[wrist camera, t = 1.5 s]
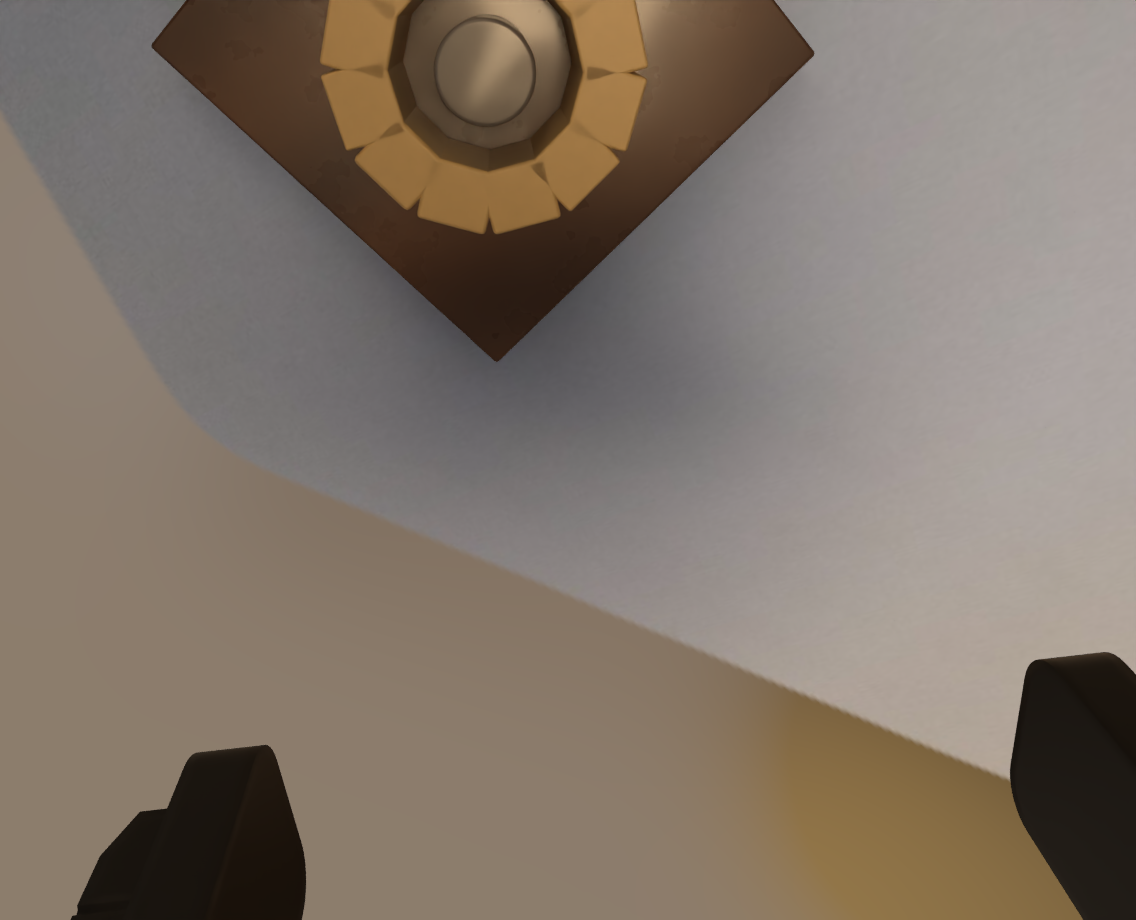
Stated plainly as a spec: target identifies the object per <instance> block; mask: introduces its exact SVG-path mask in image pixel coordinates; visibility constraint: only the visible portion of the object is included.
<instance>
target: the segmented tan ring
mask: <svg viewBox="0 0 1136 920" xmlns="http://www.w3.org/2000/svg"><path fill="white" fill-rule="evenodd" d="M423 1H424V0H329V4H328V11H327V17H326V23H325V30H324V36H323V42H322V49H321V55H320V63H321V64H322V65H324V66H328V67H331V68H335V70H332V71H330V72H328V73H325V74H323V75H322V76H321V79H322V82H323V85H324V88H325V91H326V94H327V97H328V100H329V103H330V105H331V108H332V111H333V114H334V117H335V120H336V123H337V126H338V129H339V131H340V134H341V137H342V140H343V143H344V146H345V149H346V150H348V151H350V150H353V149H357V148H360V147H364V146H365V147H364V148H363V149H362V150H361V151H360V152H359V153H358V155H357V156H356V157H355V162H356V164H357V165H358V166H359V167H360V168H361V169H362V170H363V171H365V172H366V173H367V174H368V175H369V176H370V177H371V178H372V179H373V180H374V181H375V182H376V183H377V184H378V185H379V186H380V187H381V188H382V189H384V190H385V191H386V192H387V193H388V194H389V195H390V196H391V197H392V198H393V199H394V200H395V201H396V202H397V203H398V204H399V205H400V206H401V207H402V208H404V209H406V210H409V209H411V208H412V207H413V206H414V205H415V203H416V202H417V201H418V200H419V199H420V201H419V206H418V211H417V215H418V217H419V218H421V219H425V220H429V221H433V222H436V223H440V224H444V225H448V226H452V227H455V228H459V229H463V230H467V231H470V232H474V233H478V234H484V233H485V232H486V228H487V224H488V220H489V218H490V222H491V225H492V229H493V232H494V233H495V234H501V233H505V232H509V231H513V230H516V229H520V228H524V227H527V226H531V225H535V224H538V223H542V222H546V221H550V220H553V219H557V218H559V217H560V214H561V213H560V209H559V205H558V201H559V202H560V203H561V204H562V205H563V206H564V207H565V208H566V209H567V210H568V211H572V210H573V209H574V208H575V207H576V206H577V205H578V204H579V203H580V202H581V201H582V200H583V199H584V198H585V197H586V196H587V195H588V194H589V193H590V192H591V191H592V190H593V189H594V188H595V187H596V186H597V185H598V184H599V183H600V182H601V181H602V180H603V179H604V178H605V177H606V176H607V175H608V174H609V173H610V172H611V171H612V170H613V169H614V168H615V167H616V166H617V165H618V164H619V162H620V161H619V158H618V157H617V156H616V154H615V153H614V152H613V150H612V149H616V150H619V151H623V152H624V151H626V150H627V149H628V145H629V142H630V138H631V135H632V132H633V128H634V125H635V121H636V118H637V115H638V111H639V108H640V104H641V101H642V98H643V94H644V91H645V88H646V84H647V79H646V78H645V77H643V76H641V75H640V74H638V73H636V72H634V71H638V70H641V69H645V68H646V67H648V61H647V56H646V51H645V46H644V41H643V36H642V31H641V26H640V21H639V16H638V11H637V6H636V1H635V0H547V1H548V2H549V3H550V4H551V5H552V6H553V8H554V9H555V10H556V11H557V12H558V13H559V14H560V15H561V18H562V22H563V27H564V31H565V35H566V39H567V44H568V48H569V52H570V57H571V61H572V64H571V68H570V72H569V76H568V79H567V83H566V87H565V91H564V95H563V99H562V102H561V106H560V108H559V109H558V110H557V111H556V112H555V113H554V114H553V115H552V116H551V117H550V118H549V119H548V120H547V121H546V122H545V124H544V125H543V126H542V127H541V128H540V129H539V130H538V131H537V132H536V133H535V134H534V135H533V136H532V137H531V138H530V139H527V140H523V141H519V142H516V143H512V144H509V145H505V146H501V147H498V148H494V149H490V150H489V149H485V148H482V147H478V146H475V145H471V144H468V143H464V142H461V141H457V140H453V139H450V138H448V137H447V136H446V135H445V134H444V133H443V132H442V131H441V130H440V129H439V128H438V127H437V126H436V125H435V124H434V123H433V122H432V121H431V120H430V119H429V118H428V117H427V116H426V115H425V114H424V113H423V112H422V111H421V110H420V109H419V108H418V107H417V105H416V102H415V99H414V95H413V92H412V89H411V85H410V82H409V79H408V76H407V72H406V69H405V66H404V63H403V58H404V52H405V47H406V42H407V37H408V32H409V26H410V21H411V16H412V13H413V12H414V11H415V10H416V9H417V8H418V7H419V5H420V4H421V3H422V2H423ZM611 148H612V149H611ZM557 200H558V201H557Z"/></svg>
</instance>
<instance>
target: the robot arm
mask: <svg viewBox="0 0 1136 920" xmlns="http://www.w3.org/2000/svg"><path fill="white" fill-rule="evenodd" d="M1010 780H1011V788H1012V793H1013V798H1014V802H1015V805H1016V808H1017V811H1018V813H1019V816H1020V818H1021V820H1022V822H1023V825H1024V826H1025V828H1026V830H1027V832H1028V833H1029V835H1030V836H1031V838H1032V840H1033V841H1034V843H1035V844H1036V846H1037V847H1038V849H1039V850H1040V852H1041V854H1042V855H1043V857H1044V858H1045V860H1046V862H1047V863H1048V865H1049V866H1050V868H1051V869H1052V871H1053V873H1054V874H1055V876H1056V877H1057V879H1058V880H1059V882H1060V884H1061V885H1062V887H1063V888H1064V890H1065V892H1066V893H1067V895H1068V896H1069V898H1070V899H1071V901H1072V903H1073V904H1074V906H1075V907H1076V909H1077V910H1078V912H1079V913H1080V915H1081V917H1082V918H1083V920H1136V674H1135V673H1134V672H1133V671H1132V670H1131V669H1130V668H1129V667H1128V666H1127V665H1126V664H1125V663H1124V662H1123V661H1122V660H1121V659H1120V658H1119V657H1117V656H1116V655H1114V654H1111V653H1108V652H1101V653H1092V654H1083V655H1075V656H1066V657H1057V658H1048V659H1039V660H1035V661H1033V662H1032V663H1031V664H1030V665H1029V667H1028V669H1027V671H1026V675H1025V679H1024V685H1023V691H1022V698H1021V704H1020V710H1019V716H1018V722H1017V728H1016V734H1015V741H1014V747H1013V753H1012V759H1011V766H1010ZM305 869H306V868H305V859H304V852H303V847H302V844H301V840H300V837H299V833H298V830H297V827H296V823H295V820H294V817H293V813H292V809H291V806H290V803H289V800H288V796H287V793H286V790H285V786H284V783H283V779H282V776H281V772H280V769H279V766H278V762H277V759H276V757H275V754H274V752H273V750H272V749H271V748H270V747H269V746H268V745H261V746H252V747H243V748H234V749H225V750H216V751H208V752H200V753H195V754H193V755H192V756H191V757H190V758H189V759H188V761H187V762H186V764H185V766H184V769H183V771H182V773H181V776H180V778H179V781H178V784H177V786H176V788H175V791H174V793H173V796H172V798H171V801H170V803H169V806H168V808H167V809H160V810H151V811H142V812H139V814H138V815H137V816H136V817H135V818H134V819H133V820H132V821H131V822H130V824H129V825H128V826H127V827H126V828H125V829H124V830H123V831H122V833H121V834H120V835H119V836H118V837H117V838H116V839H115V840H114V841H113V842H112V843H111V845H110V846H109V847H108V848H107V849H106V850H105V851H104V852H103V853H102V855H101V856H100V857H99V860H98V862H97V864H96V866H95V868H94V870H93V873H92V875H91V877H90V879H89V881H88V884H87V886H86V888H85V890H84V892H83V894H82V896H81V899H80V901H79V903H78V905H77V907H78V912H77V915H75V916H72V918H71V920H302V915H303V910H304V903H305V893H306V870H305Z"/></svg>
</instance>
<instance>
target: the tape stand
mask: <svg viewBox="0 0 1136 920" xmlns="http://www.w3.org/2000/svg"><path fill="white" fill-rule="evenodd" d="M635 1H636V6H637V11H638V16H639V21H640V26H641V31H642V36H643V41H644V46H645V51H646V56H647V61H648V67H646V68H645V69H641V70H638V71H634V72H636V73H638V74H640V75H641V76H643V77H645V78H646V79H647V84H646V88H645V91H644V94H643V98H642V101H641V104H640V108H639V111H638V115H637V118H636V121H635V125H634V128H633V132H632V135H631V138H630V142H629V145H628V149H627V150H626V151H624V152H623V151H619V150H616V149H612V148H611V149H612V150H613V152H614V153H615V154H616V156H617V157H618V158H619V161H620V162H619V164H618V165H617V166H616V167H615V168H614V169H613V170H612V171H611V172H610V173H609V174H608V175H607V176H606V177H605V178H604V179H603V180H602V181H601V182H600V183H599V184H598V185H597V186H596V187H595V188H594V189H593V190H592V191H591V192H590V193H589V194H588V195H587V196H586V197H585V198H584V199H583V200H582V201H581V202H580V203H579V204H578V205H577V206H576V207H575V208H574V209H573V210H572V211H568V210H567V209H566V208H565V207H564V206H563V205H562V204H561V203H560V202H559V201H558V200H557V201H558V205H559V209H560V213H561V214H560V217H559V218H557V219H553V220H550V221H546V222H542V223H538V224H535V225H531V226H527V227H524V228H520V229H516V230H513V231H509V232H505V233H501V234H495V233H494V232H493V229H492V225H491V222H490V218H489V220H488V224H487V228H486V232H485V233H484V234H478V233H474V232H470V231H467V230H463V229H459V228H455V227H452V226H448V225H444V224H440V223H436V222H433V221H429V220H425V219H421V218H419V217H418V215H417V211H418V206H419V201H420V199H419V200H418V201H417V202H416V203H415V205H414V206H413V207H412V208H411V209H409V210H406V209H404V208H402V207H401V206H400V205H399V204H398V203H397V202H396V201H395V200H394V199H393V198H392V197H391V196H390V195H389V194H388V193H387V192H386V191H385V190H384V189H382V188H381V187H380V186H379V185H378V184H377V183H376V182H375V181H374V180H373V179H372V178H371V177H370V176H369V175H368V174H367V173H366V172H365V171H363V170H362V169H361V168H360V167H359V166H358V165H357V164H356V162H355V157H356V156H357V155H358V153H359V152H360V151H361V150H362V149H363V148H364V147H365V146H364V147H360V148H357V149H353V150H350V151H348V150H346V149H345V146H344V143H343V140H342V137H341V134H340V131H339V129H338V126H337V123H336V120H335V117H334V114H333V111H332V108H331V105H330V103H329V100H328V97H327V94H326V91H325V88H324V85H323V82H322V79H321V76H322V75H323V74H325V73H328V72H330V71H332V70H335V68H331V67H328V66H324V65H322V64H321V63H320V55H321V49H322V42H323V36H324V30H325V23H326V17H327V11H328V4H329V0H186V1H185V2H184V4H183V5H182V6H181V7H180V9H179V10H178V11H177V13H176V14H175V15H174V16H173V18H172V19H171V20H170V22H169V23H168V24H167V25H166V27H165V28H164V29H163V30H162V32H161V33H160V34H159V36H158V37H157V38H156V39H155V41H154V42H153V43H152V48H153V49H154V50H155V51H156V52H157V53H158V54H159V55H160V56H161V57H162V58H164V59H165V60H166V61H167V62H168V63H169V64H170V65H171V66H172V67H173V68H175V69H176V70H177V71H178V72H179V73H180V74H181V75H182V76H183V77H184V78H185V79H187V80H188V81H189V82H190V83H191V84H192V85H193V86H194V87H195V88H196V89H198V90H199V91H200V92H201V93H202V94H203V95H204V96H205V97H206V98H207V99H208V100H210V101H211V102H212V103H213V104H214V105H215V106H216V107H217V108H218V109H219V110H220V111H222V112H223V113H224V114H225V115H226V116H227V117H228V118H229V119H230V120H231V121H233V122H234V123H235V124H236V125H237V126H238V127H239V128H240V129H241V130H242V131H243V132H245V133H246V134H247V135H248V136H249V137H250V138H251V139H252V140H253V141H254V142H255V143H257V144H258V145H259V146H260V147H261V148H262V149H263V150H264V151H265V152H266V153H268V154H269V155H270V156H271V157H272V158H273V159H274V160H275V161H276V162H277V163H278V164H280V165H281V166H282V167H283V168H284V169H285V170H286V171H287V172H288V173H289V174H291V175H292V176H293V177H294V178H295V179H296V180H297V181H298V182H299V183H300V184H301V185H303V186H304V187H305V188H306V189H307V190H308V191H309V192H310V193H311V194H312V195H313V196H315V197H316V198H317V199H318V200H319V201H320V202H321V203H322V204H323V205H324V206H326V207H327V208H328V209H329V210H330V211H331V212H332V213H333V214H334V215H335V216H336V217H338V218H339V219H340V220H341V221H342V222H343V223H344V224H345V225H346V226H347V227H348V228H350V229H351V230H352V231H353V232H354V233H355V234H356V235H357V236H358V237H359V238H361V239H362V240H363V241H364V242H365V243H366V244H367V245H368V246H369V247H370V248H371V249H373V250H374V251H375V252H376V253H377V254H378V255H379V256H380V257H381V258H382V259H384V260H385V261H386V262H387V263H388V264H389V265H390V266H391V267H392V268H393V269H394V270H396V271H397V272H398V273H399V274H400V275H401V276H402V277H403V278H404V279H405V280H406V281H408V282H409V283H410V284H411V285H412V286H413V287H414V288H415V289H416V290H417V291H419V292H420V293H421V294H422V295H423V296H424V297H425V298H426V299H427V300H428V301H429V302H431V303H432V304H433V305H434V306H435V307H436V308H437V309H438V310H439V311H440V312H441V313H443V314H444V315H445V316H446V317H447V318H448V319H449V320H450V321H451V322H452V323H454V324H455V325H456V326H457V327H458V328H459V329H460V330H461V331H462V332H463V333H464V334H466V335H467V336H468V337H469V338H470V339H471V340H472V341H473V342H474V343H475V344H477V345H478V346H479V347H480V348H481V349H482V350H483V351H484V352H485V353H486V354H487V355H489V356H490V357H491V358H492V359H493V360H494V361H496V362H498V361H499V360H500V359H501V358H503V357H504V356H505V355H506V354H507V353H508V352H509V351H510V350H511V349H512V348H513V347H514V346H515V345H516V344H517V343H518V342H519V341H520V340H521V339H522V338H523V337H524V336H525V335H526V334H527V333H528V332H529V331H530V330H531V329H532V328H533V327H534V326H536V325H537V324H538V323H539V322H540V321H541V320H542V319H543V318H544V317H545V316H546V315H547V314H548V313H549V312H550V311H551V310H552V309H553V308H554V307H555V306H556V305H557V304H558V303H559V302H560V301H561V300H562V299H563V298H564V297H565V296H566V295H567V294H569V293H570V292H571V291H572V290H573V289H574V288H575V287H576V286H577V285H578V284H579V283H580V282H581V281H582V280H583V279H584V278H585V277H586V276H587V275H588V274H589V273H590V272H591V271H592V270H593V269H594V268H595V267H596V266H597V265H598V264H599V263H600V262H602V261H603V260H604V259H605V258H606V257H607V256H608V255H609V254H610V253H611V252H612V251H613V250H614V249H615V248H616V247H617V246H618V245H619V244H620V243H621V242H622V241H623V240H624V239H625V238H626V237H627V236H628V235H629V234H630V233H631V232H632V231H633V230H635V229H636V228H637V227H638V226H639V225H640V224H641V223H642V222H643V221H644V220H645V219H646V218H647V217H648V216H649V215H650V214H651V213H652V212H653V211H654V210H655V209H656V208H657V207H658V206H659V205H660V204H661V203H662V202H663V201H664V200H665V199H666V198H668V197H669V196H670V195H671V194H672V193H673V192H674V191H675V190H676V189H677V188H678V187H679V186H680V185H681V184H682V183H683V182H684V181H685V180H686V179H687V178H688V177H689V176H690V175H691V174H692V173H693V172H694V171H695V170H696V169H697V168H698V167H699V166H701V165H702V164H703V163H704V162H705V161H706V160H707V159H708V158H709V157H710V156H711V155H712V154H713V153H714V152H715V151H716V150H717V149H718V148H719V147H720V146H721V145H722V144H723V143H724V142H725V141H726V140H727V139H728V138H729V137H730V136H731V135H732V134H734V133H735V132H736V131H737V130H738V129H739V128H740V127H741V126H742V125H743V124H744V123H745V122H746V121H747V120H748V119H749V118H750V117H751V116H752V115H753V114H754V113H755V112H756V111H757V110H758V109H759V108H760V107H761V106H762V105H763V104H764V103H765V102H767V101H768V100H769V99H770V98H771V97H772V96H773V95H774V94H775V93H776V92H777V91H778V90H779V89H780V88H781V87H782V86H783V85H784V84H785V83H786V82H787V81H788V80H789V79H790V78H791V77H792V76H793V75H794V74H795V73H796V72H797V71H798V70H800V69H801V68H802V67H803V66H804V65H805V64H806V63H807V62H808V61H809V60H810V59H811V58H812V57H813V56H814V51H813V50H812V48H811V47H810V46H809V45H808V43H807V42H806V41H805V39H804V38H803V37H802V35H801V34H800V33H799V32H798V30H797V29H796V28H795V26H794V25H793V24H792V23H791V21H790V20H789V19H788V17H787V16H786V15H785V14H784V12H783V11H782V10H781V8H780V7H779V6H778V5H777V3H776V2H775V1H774V0H635ZM403 63H404V66H405V69H406V72H407V76H408V79H409V82H410V85H411V89H412V92H413V95H414V99H415V102H416V105H417V107H418V108H419V109H420V110H421V111H422V112H423V113H424V114H425V115H426V116H427V117H428V118H429V119H430V120H431V121H432V122H433V123H434V124H435V125H436V126H437V127H438V128H439V129H440V130H441V131H442V132H443V133H444V134H445V135H446V136H447V137H448V138H450V139H453V140H457V141H461V142H464V143H468V144H471V145H475V146H478V147H482V148H485V149H489V150H490V149H494V148H498V147H501V146H505V145H509V144H512V143H516V142H519V141H523V140H527V139H530V138H531V137H532V136H533V135H534V134H535V133H536V132H537V131H538V130H539V129H540V128H541V127H542V126H543V125H544V124H545V122H546V121H547V120H548V119H549V118H550V117H551V116H552V115H553V114H554V113H555V112H556V111H557V110H558V109H559V108H560V106H561V102H562V99H563V95H564V91H565V87H566V83H567V79H568V76H569V72H570V68H571V64H572V61H571V57H570V52H569V48H568V44H567V39H566V35H565V31H564V27H563V22H562V18H561V15H560V14H559V13H558V12H557V11H556V10H555V9H554V8H553V6H552V5H551V4H550V3H549V2H548V1H547V0H424V1H423V2H422V3H421V4H420V5H419V7H418V8H417V9H416V10H415V11H414V12H413V13H412V16H411V21H410V26H409V32H408V37H407V42H406V47H405V52H404V58H403Z"/></svg>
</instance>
